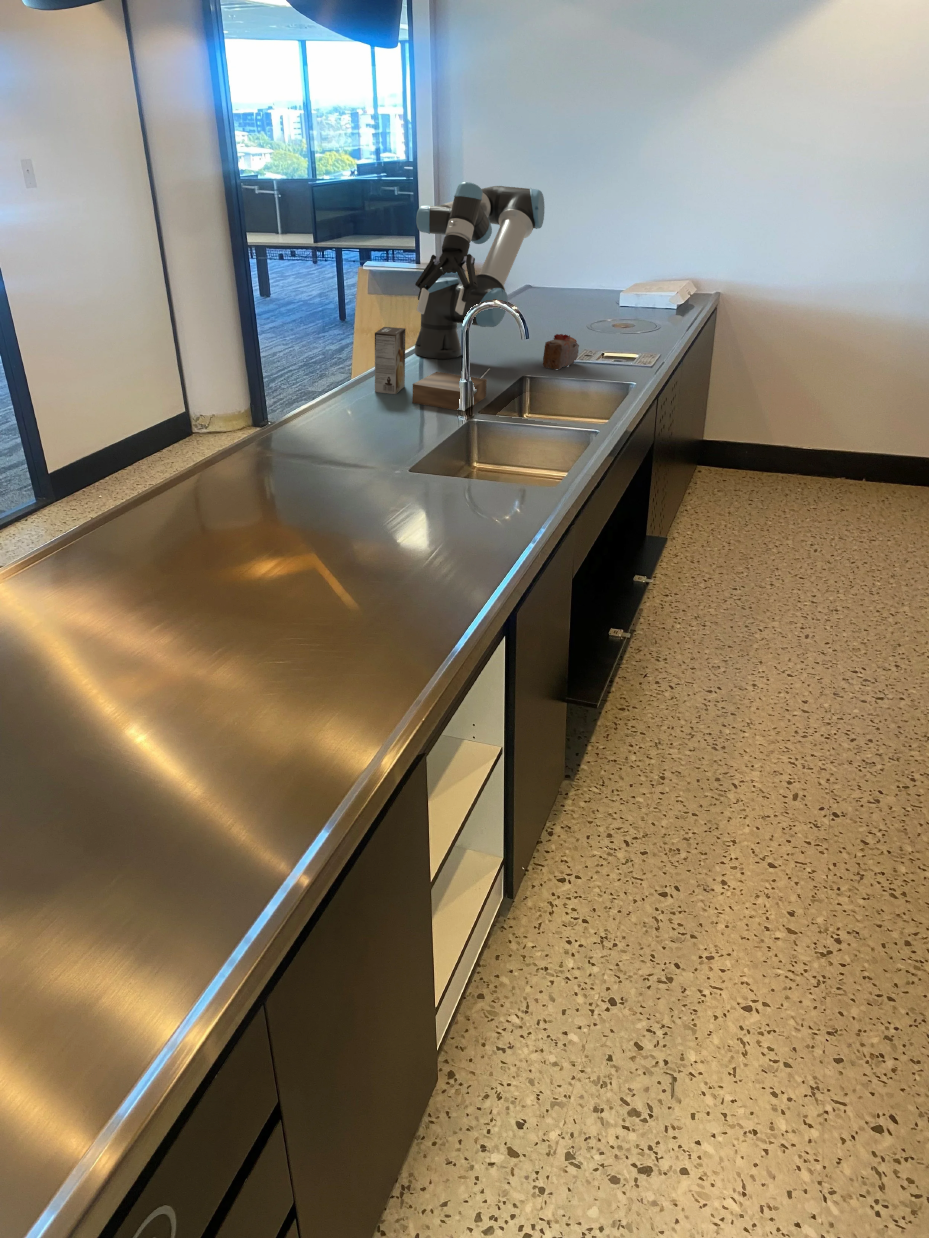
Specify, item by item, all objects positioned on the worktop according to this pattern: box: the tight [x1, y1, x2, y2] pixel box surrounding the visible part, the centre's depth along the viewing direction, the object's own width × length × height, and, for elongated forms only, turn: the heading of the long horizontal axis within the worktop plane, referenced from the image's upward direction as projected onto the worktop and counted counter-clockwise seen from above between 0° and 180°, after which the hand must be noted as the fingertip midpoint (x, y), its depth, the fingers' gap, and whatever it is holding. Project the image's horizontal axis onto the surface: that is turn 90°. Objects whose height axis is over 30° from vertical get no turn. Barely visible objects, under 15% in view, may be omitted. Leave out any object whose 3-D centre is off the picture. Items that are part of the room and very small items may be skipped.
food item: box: [542, 333, 580, 370], centre depth 280 cm, size 14×8×10 cm, turn 153°
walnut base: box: [411, 371, 488, 411], centre depth 239 cm, size 16×15×5 cm
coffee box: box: [374, 326, 407, 395], centre depth 243 cm, size 9×6×16 cm
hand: (439, 312), depth 250 cm, fingers open, 13 cm apart
